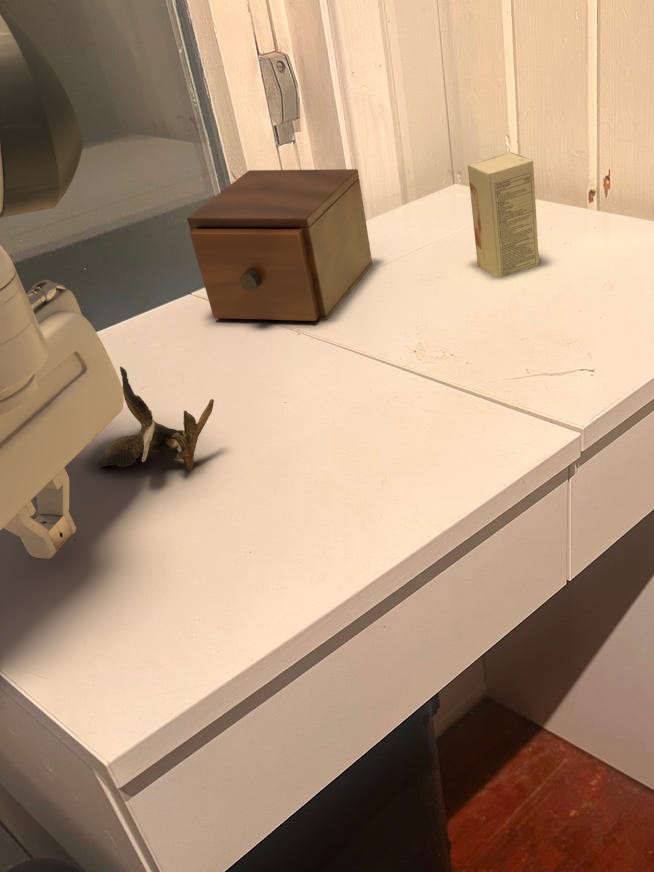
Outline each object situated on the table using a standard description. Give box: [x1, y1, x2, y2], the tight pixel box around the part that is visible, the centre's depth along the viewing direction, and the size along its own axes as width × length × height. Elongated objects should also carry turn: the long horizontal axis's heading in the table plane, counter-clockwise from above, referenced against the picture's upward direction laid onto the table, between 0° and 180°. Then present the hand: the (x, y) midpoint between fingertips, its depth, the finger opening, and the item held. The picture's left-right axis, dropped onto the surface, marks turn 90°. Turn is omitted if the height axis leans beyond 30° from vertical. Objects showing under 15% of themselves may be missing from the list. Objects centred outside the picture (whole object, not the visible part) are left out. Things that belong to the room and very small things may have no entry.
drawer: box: [189, 227, 319, 322], centre depth 86 cm, size 14×10×8 cm
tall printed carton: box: [467, 151, 540, 278], centre depth 88 cm, size 5×4×10 cm
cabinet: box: [186, 168, 373, 321], centre depth 88 cm, size 14×12×10 cm
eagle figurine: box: [98, 366, 215, 472], centre depth 67 cm, size 8×7×9 cm
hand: (54, 544), depth 59 cm, fingers closed
